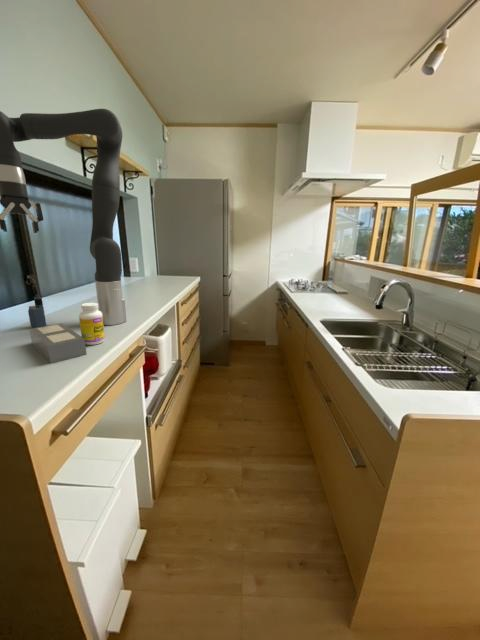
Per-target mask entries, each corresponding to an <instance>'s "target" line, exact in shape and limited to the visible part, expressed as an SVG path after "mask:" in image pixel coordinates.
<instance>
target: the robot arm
mask: <svg viewBox="0 0 480 640" xmlns="http://www.w3.org/2000/svg"><path fill="white" fill-rule="evenodd" d="M121 126H122V125H121V122H120V120H119V119H118V117H117V116H116V114H115V113H114V112H113V111H111V110H109V109H107V108H95V109H87V110H82V111H76V112H64V113H62V112H61V113H42V112H41V113H40V112H39V113H35V112H33V113H31V112H30V113H29V112H25V113H24V112H23V113H22V114H20V115H19V117H9V116H7V115H6V114H5V113H4V112H2V111H0V205H1V207H3V208H4V209H3V210H2V211H1V213H0V230H3V232H4V233H5V232H6V233H7V232H8V229H7V228H8V227H7V224H6V220H5V218H6V217H7V216H8V215H9V213H10V214H13V215H17V214H18V215H25V216H26V217H27V218H28V219H30V221H31V225H32V232H33V234H38V232H40V229H39V228H40V227H39V222H42V221H44V215H43V210H42V206H41V204H40V203H39V202H36V203H35V202H31V201H30V200H29V194H28V189H27V188H28V187H27V183H26V182H27V181H26V176H25V173H24V170H23V164H22V163H23V162H22V158H21V155H20V152H19V151H18V149H17V148H16V146H15V143H17V142H18V143H20V142H25V141H30V140H60V139H64V138H66V137H70V136H76V135H91V136H95V137H96V147H97V149H96V150H97V153H96V154H97V159H96V164H95V166H94V171H93V174H92V180H91V215H92V216H91V217H92V225H91V226H92V227H91V236H90V241H89V252H90V255H91V256H92V258H93V259H94V260H95V273H94V280H95V281H94V282H95V290H96V299H97V304H98V311H100V312H101V313H102V315H103V325H104V326H116V325H121V324H122V323H125V322H127V312H126V309H127V308H126V299H125V298H123V289H122V288H123V287H122V272H123V264H122V263H123V262H122V252H121V247H120V246H119V243H118V242H117V241H115V240H114V223H115V220H116V218H117V214H118V210H119V207H120V199H121V198H120V193H121V192H120V191H121V188H120V187H121V185H120V184H121V183H120V181H121V179H120V157H121V156H120V154H121V150H122V149H121V148H122V142H123V131H122V130H123V129H122V127H121ZM31 207H32V209H33V210H35V212H36V216H35V215H34V213H32V212H31V210H30V209H31Z"/></svg>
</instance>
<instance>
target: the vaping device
mask: <svg viewBox="0 0 480 640" xmlns="http://www.w3.org/2000/svg"><path fill="white" fill-rule="evenodd" d="M33 300H34V305H30V306H28V311H27V313H28V318H29V324H30V327H31V329H32V328H38V327H44V326H47V321H46V320H47V319H46V314H45V309H44V308H45V307H44V303H43V298H42V296H40V294H35V296H33Z"/></svg>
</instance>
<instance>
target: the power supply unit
mask: <svg viewBox="0 0 480 640" xmlns="http://www.w3.org/2000/svg"><path fill="white" fill-rule="evenodd" d="M28 330H29V334H30V338H31V339H30V341H31V345H33V347H34V348H35V349H36V350H37V351H38V352H39V353H40V354H41V355H42V356H43V357H44V358H45V359H46V360H47V361H48V362H49V363H50V364H55V363H58V362H62V361H66V360H70V359H74V358H78V357H82V356H85V355H87V353H88V352H87V346H86V344H85V338H83V337H82V336H81V335H80V334H79V333H77V332H76V331H75V330H73V329H71V328H69V327H68V326H66V325H65V324H64V323H57V324H50V325H45V326H42V327H38V328H32V327H31V328H29V329H28Z"/></svg>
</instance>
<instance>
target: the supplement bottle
mask: <svg viewBox="0 0 480 640" xmlns="http://www.w3.org/2000/svg"><path fill="white" fill-rule="evenodd" d="M81 310H82V311H81V312H79V315H78V318H79V319H78V320H79V325H80V333H81V335H80V336H82V337H83V338H85V346H86V345H87V346H96V345H99V344H102V343H104V342H105V340H106V339H105V337H106V336H105V329H104V328H105V325H103V315H102V313H101V312H100V311H99V310H98V302H87V303H82V304H81Z"/></svg>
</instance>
